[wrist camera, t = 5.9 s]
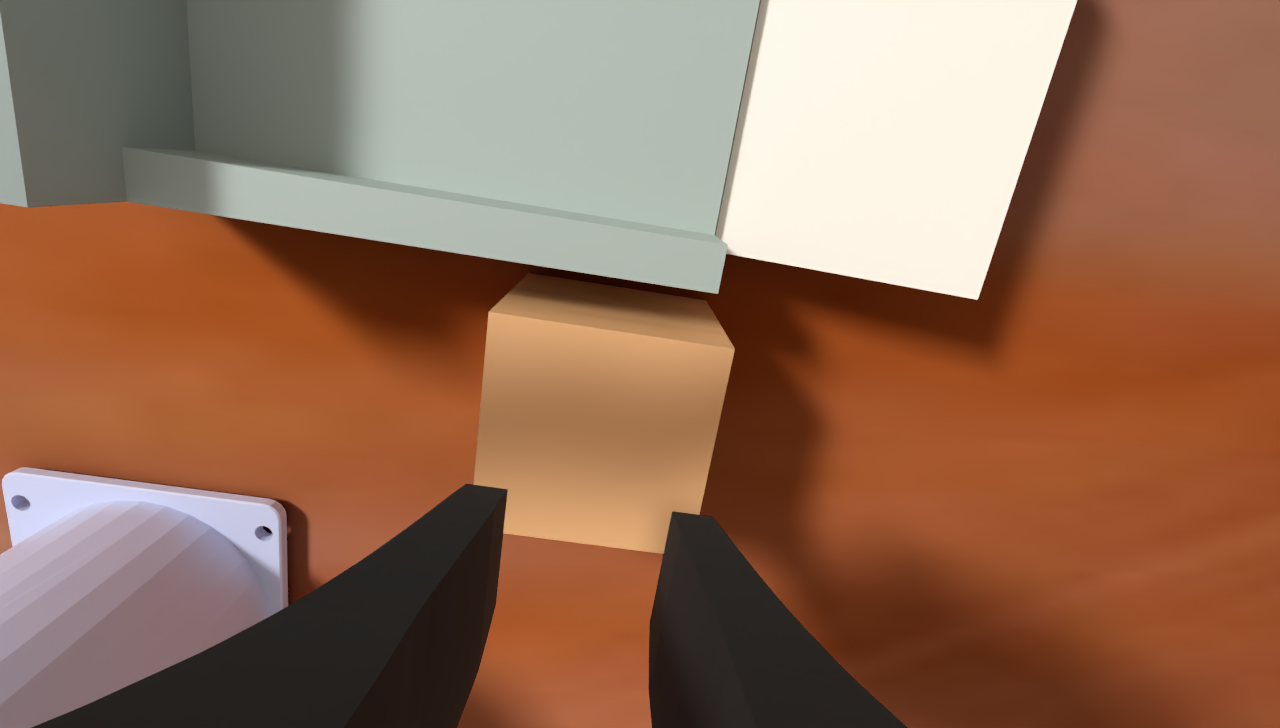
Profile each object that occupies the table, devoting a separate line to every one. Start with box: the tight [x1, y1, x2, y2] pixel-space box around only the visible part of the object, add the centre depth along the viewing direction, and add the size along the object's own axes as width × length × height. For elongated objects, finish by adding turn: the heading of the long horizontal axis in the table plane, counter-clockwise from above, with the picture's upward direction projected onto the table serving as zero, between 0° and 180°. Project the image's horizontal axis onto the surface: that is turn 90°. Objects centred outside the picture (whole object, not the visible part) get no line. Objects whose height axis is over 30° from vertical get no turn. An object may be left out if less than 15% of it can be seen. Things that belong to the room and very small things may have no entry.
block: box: [474, 273, 735, 554], centre depth 15 cm, size 5×5×5 cm
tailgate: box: [715, 0, 1077, 300], centre depth 13 cm, size 9×2×6 cm
